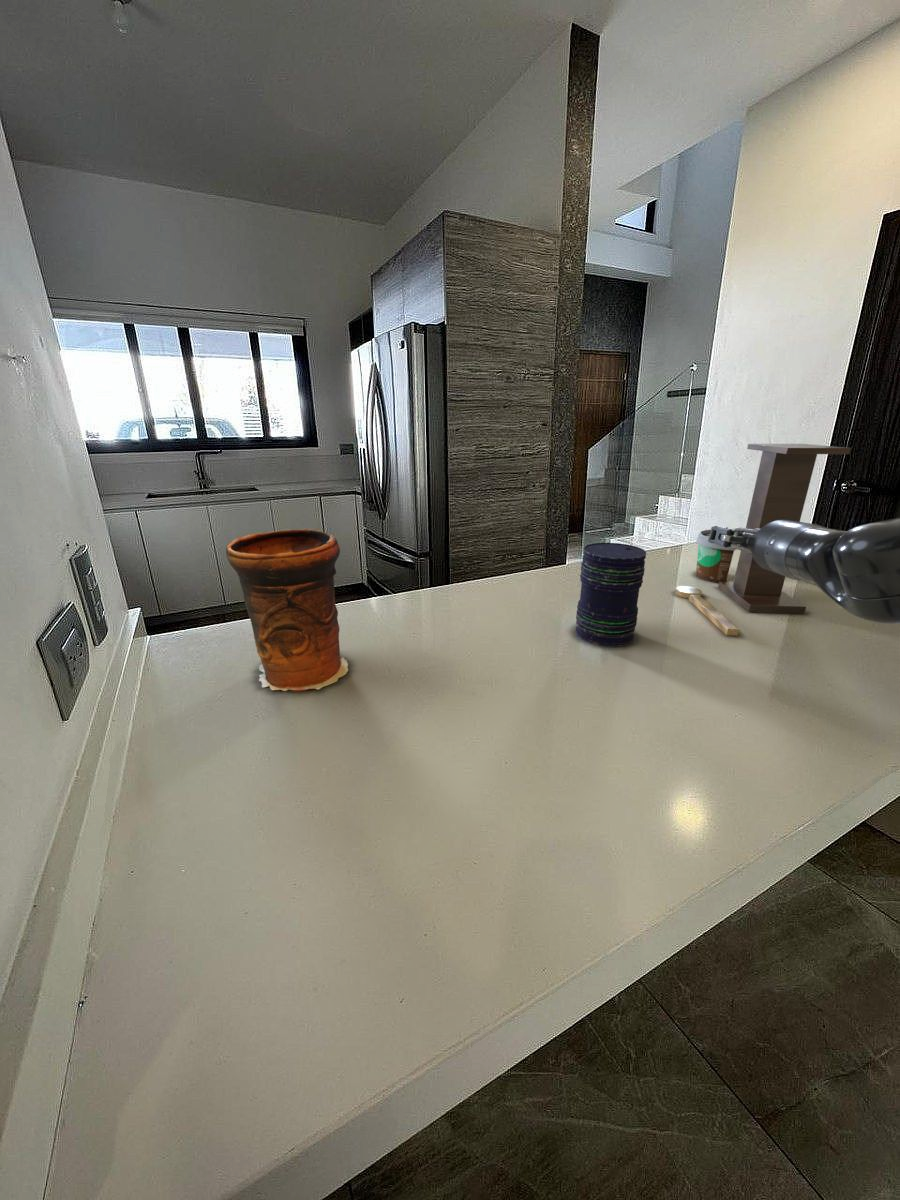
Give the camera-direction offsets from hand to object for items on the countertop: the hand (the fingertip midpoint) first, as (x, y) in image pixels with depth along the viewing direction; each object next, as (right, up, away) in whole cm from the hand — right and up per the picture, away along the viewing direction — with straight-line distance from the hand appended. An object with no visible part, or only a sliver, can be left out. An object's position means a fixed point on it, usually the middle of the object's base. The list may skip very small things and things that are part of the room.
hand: (742, 536), depth 81 cm
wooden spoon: (0, -13, +12) cm, 17 cm away
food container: (+10, -5, +31) cm, 34 cm away
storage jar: (-23, -17, +2) cm, 28 cm away
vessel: (-71, -21, -10) cm, 75 cm away
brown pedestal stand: (+13, -11, +17) cm, 24 cm away
